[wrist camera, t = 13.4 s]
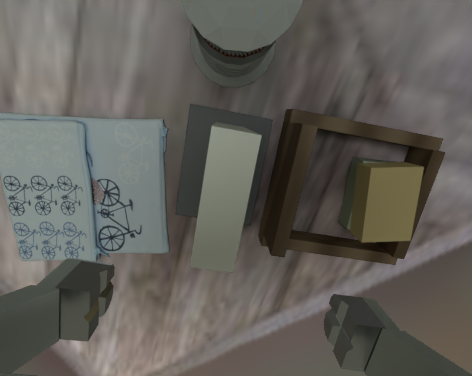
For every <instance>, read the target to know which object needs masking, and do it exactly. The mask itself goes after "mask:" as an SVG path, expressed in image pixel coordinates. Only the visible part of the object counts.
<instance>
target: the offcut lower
mask: <svg viewBox="0 0 472 376" xmlns="http://www.w3.org/2000/svg"><path fill="white" fill-rule="evenodd" d="M390 162H391V161H382V160H373V159H363V158H354V157H353V159H352V163H351V168H350V172H349V176H348V181H347V185H346V190H345V194H344V198H343V203H342V207H341V211H340V216H339V220H338V222H339V223H341V224H342V225H343V226H344V227H345V228H346V229H349V230H350V224H351V215H352V207H353V198H354V190H355V181H356V172H357V164H358V163H390Z"/></svg>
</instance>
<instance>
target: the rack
mask: <svg viewBox="0 0 472 376" xmlns="http://www.w3.org/2000/svg"><path fill="white" fill-rule="evenodd" d="M317 129H322V130H328V131H333V132H338V133H343V134H348V135H353V136H359V137H364V138H369V139H374V140H379V141H385V142H390V143H395V144H400V145H405V146H410V147H409V149H408V152H407V155H406V158H405V161H404V162H407V163H411V164H415V165H419V166H423V167H424V170H423V176H422V181H421V186H420V192H419V197H418V203H417V208H416V213H415V219H414V224H413V229H412V235H411V240H412V237H413V235H414V232H415V229H416V227H417V224H418V222H419V219H420V217H421V214H422V211H423V209H424V206H425V204H426V201H427V199H428V196H429V193H430V191H431V188H432V186H433V183H434V181H435V178H436V175H437V173H438V170H439V168H440V165H441V163H442V160H443V157H444V155H445V152H441V151H439V149H440V146H441V144H442V141H443V139H442V138H437V137H432V136H427V135H422V134H417V133H412V132H407V131H402V130H397V129H392V128H387V127H382V126H377V125H372V124H366V123H361V122H356V121H351V120H346V119H341V118H336V117H331V116H326V115H321V114H316V113H311V112H306V111H301V110H296V109H287V110H286V114H285V118H284V122H283V127H282V131H281V136H280V140H279V145H278V149H277V154H276V158H275V163H274V167H273V172H272V176H271V181H270V185H269V190H268V194H267V199H266V203H265V207H264V212H263V216H262V221H261V225H260V230H259V234H258V236H259V239H260V243H261V246H267V247H268V248H269V251H270V254H271V255H272V256H279V257H285V253H286V249H288V250H295V251H302V252H309V253H316V254H323V255H330V256H337V257H344V258H351V259H358V260H364V261H371V262H378V263H385V264H392V265H395V264H396V261H397V259H398V258H401V259H404V258H405V255H406V253H407V250H408V247H409V245H410V242H411V240H410V241H391V242H376V243H373V242H363V243H362V242H360V241H359V240H353V239H347V238H340V237H333V236H327V235H320V234H314V233H307V232H300V231H294V230H292V226H293V222H294V218H295V214H296V210H297V207H298V203H299V199H300V195H301V191H302V187H303V183H304V179H305V175H306V172H307V168H308V164H309V160H310V156H311V152H312V148H313V144H314V140H315V137H316V133H317Z"/></svg>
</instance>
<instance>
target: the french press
mask: <svg viewBox="0 0 472 376" xmlns="http://www.w3.org/2000/svg"><path fill="white" fill-rule="evenodd" d="M302 2H303V0H182V4H183V7H184V10H185V13H186V16H187V17H188V18H189V20H190V21H191V22H192V26H191V39H190V47H191V50H192V54H193V57H194V60H195V63H196V65H197V66H198V67H199V69H200V70H201V71H202V72H203V73H204V75H205V76H206V77H207V78H208V79H210V80H212V81H213V82H215V83H217V84H219V85H221V86H226V87H236V88H238V87H241V86H244V85H247V84H250V83H253V82H254V81H256V80H257V79H258V78H259V77H260V76H261V75H262V74H264V73H265V72H266V70H267V68H268V66H269V64H270V62H271V60H272V58H273V56H274V50H275V42H276V39H277V38H278V37H279V36H281V35H282V34H283V33H284V32H285V31H286V30H287V29H288V28H289V27H290V26H291V24H292V22H293V20H294V18H295V17H296V15H297V13H298V11H299V9H300V7H301V6H302Z"/></svg>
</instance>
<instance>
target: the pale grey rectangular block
mask: <svg viewBox="0 0 472 376" xmlns="http://www.w3.org/2000/svg"><path fill="white" fill-rule="evenodd" d="M261 136H262V135H260V134H258V133H256V132H254V131H252V130H249V129H247V128H245V127H240V126H235V125H230V124H224V123H219V122H216V123H215V124H213V125H212V127H211V134H210V140H209V147H208V153H207V159H206V166H205V172H204V179H203V185H202V192H201V198H200V204H199V211H198V217H197V224H196V230H195V237H194V243H193V249H192V256H191V262H190V267H192V268H200V269H207V270H215V271H222V272H230V273H234V268H235V263H236V258H237V253H238V248H239V243H240V239H241V234H242V229H243V224H244V219H245V214H246V209H247V204H248V200H249V195H250V190H251V185H252V180H253V175H254V170H255V165H256V161H257V156H258V151H259V146H260V141H261Z"/></svg>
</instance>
